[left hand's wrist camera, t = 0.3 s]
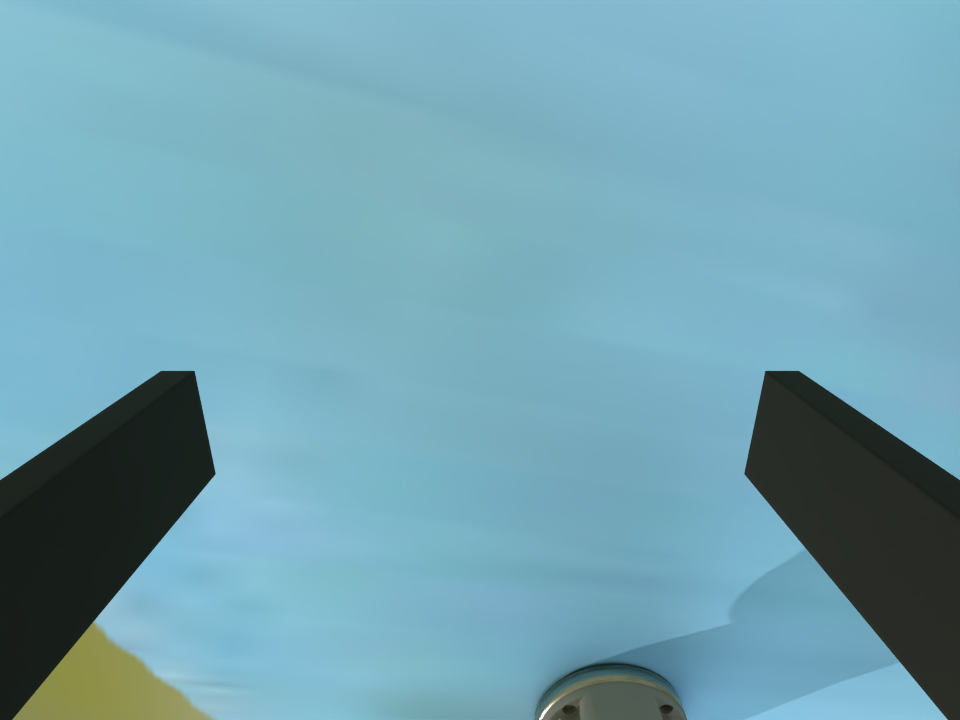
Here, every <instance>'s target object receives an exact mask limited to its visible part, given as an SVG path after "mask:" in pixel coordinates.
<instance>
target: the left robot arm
mask: <svg viewBox="0 0 960 720" xmlns="http://www.w3.org/2000/svg"><path fill="white" fill-rule="evenodd" d="M214 475H215V469H214V464H213V459H212V454H211V449H210V444H209V440H208V435H207V430H206V425H205V420H204V415H203V410H202V405H201V400H200V396H199V391H198V386H197V381H196V376H195V371H160V372H159V373H158V374H156V375H155V376H153V377H152V378H150V379H149V380H147V381H146V382H144V383H143V384H141V385H140V386H138V387H137V388H135V389H134V390H132V391H131V392H130V393H128V394H127V395H125V396H124V397H122V398H121V399H119V400H118V401H116V402H115V403H113V404H112V405H110V406H109V407H107V408H106V409H104V410H103V411H102V412H100V413H99V414H97V415H96V416H94V417H93V418H91V419H90V420H88V421H87V422H85V423H84V424H82V425H81V426H79V427H78V428H76V429H75V430H74V431H72V432H71V433H69V434H68V435H66V436H65V437H63V438H62V439H60V440H59V441H57V442H56V443H54V444H53V445H51V446H50V447H48V448H47V449H46V450H44V451H43V452H41V453H40V454H38V455H37V456H35V457H34V458H32V459H31V460H29V461H28V462H26V463H25V464H23V465H22V466H21V467H19V468H18V469H16V470H15V471H13V472H12V473H10V474H9V475H7V476H6V477H4V478H3V479H1V480H0V720H12V719H13V718H14V717H15V716H16V714H17V713H18V712H19V711H20V710H21V708H22V707H23V706H24V705H25V703H26V702H27V701H28V700H29V699H30V698H31V696H32V695H33V694H34V693H35V691H36V690H37V689H38V688H39V687H40V685H41V684H42V683H43V682H44V681H45V679H46V678H47V677H48V676H49V675H50V673H51V672H52V671H53V670H54V668H55V667H56V666H57V665H58V664H59V662H60V661H61V660H62V659H63V658H64V656H65V655H66V654H67V653H68V652H69V650H70V649H71V648H72V647H73V646H74V644H75V643H76V642H77V641H78V639H79V638H80V637H81V636H82V635H83V634H84V632H85V631H86V630H87V629H88V627H89V626H90V625H91V624H92V623H93V621H94V620H95V619H96V618H97V617H98V615H99V614H100V613H101V612H102V611H103V609H104V608H105V607H106V606H107V605H108V603H109V602H110V601H111V600H112V598H113V597H114V596H115V595H116V594H117V592H118V591H119V590H120V589H121V588H122V586H123V585H124V584H125V583H126V582H127V580H128V579H129V578H130V577H131V576H132V574H133V573H134V572H135V571H136V569H137V568H138V567H139V566H140V565H141V563H142V562H143V561H144V560H145V559H146V557H147V556H148V555H149V554H150V553H151V551H152V550H153V549H154V548H155V547H156V545H157V544H158V543H159V542H160V541H161V539H162V538H163V537H164V536H165V534H166V533H167V532H168V531H169V530H170V528H171V527H172V526H173V525H174V524H175V522H176V521H177V520H178V519H179V518H180V516H181V515H182V514H183V513H184V512H185V510H186V509H187V508H188V507H189V505H190V504H191V503H192V502H193V501H194V499H195V498H196V497H197V496H198V495H199V493H200V492H201V491H202V490H203V489H204V487H205V486H206V485H207V484H208V483H209V481H210V480H211V479H212V478H213V476H214ZM745 475H746V476H747V478H748V479H749V480H750V481H751V483H752V484H753V485H754V486H755V487H756V489H757V490H758V491H759V492H760V493H761V495H762V496H763V497H764V498H765V499H766V501H767V502H768V503H769V504H770V505H771V507H772V508H773V509H774V510H775V512H776V513H777V514H778V515H779V516H780V518H781V519H782V520H783V521H784V522H785V524H786V525H787V526H788V527H789V528H790V530H791V531H792V532H793V533H794V534H795V536H796V537H797V538H798V539H799V541H800V542H801V543H802V544H803V545H804V547H805V548H806V549H807V550H808V551H809V553H810V554H811V555H812V556H813V557H814V559H815V560H816V561H817V562H818V563H819V565H820V566H821V567H822V568H823V569H824V571H825V572H826V573H827V574H828V576H829V577H830V578H831V579H832V580H833V582H834V583H835V584H836V585H837V586H838V588H839V589H840V590H841V591H842V592H843V594H844V595H845V596H846V597H847V598H848V600H849V601H850V602H851V603H852V605H853V606H854V607H855V608H856V609H857V611H858V612H859V613H860V614H861V615H862V617H863V618H864V619H865V620H866V621H867V623H868V624H869V625H870V626H871V627H872V629H873V630H874V631H875V632H876V634H877V635H878V636H879V637H880V638H881V640H882V641H883V642H884V643H885V644H886V646H887V647H888V648H889V649H890V650H891V652H892V653H893V654H894V655H895V656H896V658H897V659H898V660H899V661H900V662H901V664H902V665H903V666H904V667H905V669H906V670H907V671H908V672H909V673H910V675H911V676H912V677H913V678H914V679H915V681H916V682H917V683H918V684H919V685H920V687H921V688H922V689H923V690H924V691H925V693H926V694H927V695H928V696H929V698H930V699H931V700H932V701H933V702H934V704H935V705H936V706H937V707H938V708H939V710H940V711H941V712H942V713H943V714H944V716H945V717H946V718H947V719H948V720H960V480H959V479H957V478H956V477H954V476H953V475H951V474H950V473H948V472H947V471H945V470H944V469H942V468H941V467H939V466H938V465H937V464H935V463H934V462H932V461H931V460H929V459H928V458H926V457H925V456H923V455H922V454H920V453H919V452H917V451H916V450H914V449H913V448H912V447H910V446H909V445H907V444H906V443H904V442H903V441H901V440H900V439H898V438H897V437H895V436H894V435H892V434H891V433H889V432H888V431H886V430H885V429H884V428H882V427H881V426H879V425H878V424H876V423H875V422H873V421H872V420H870V419H869V418H867V417H866V416H864V415H863V414H861V413H860V412H858V411H857V410H856V409H854V408H853V407H851V406H850V405H848V404H847V403H845V402H844V401H842V400H841V399H839V398H838V397H836V396H835V395H833V394H832V393H830V392H829V391H828V390H826V389H825V388H823V387H822V386H820V385H819V384H817V383H816V382H814V381H813V380H811V379H810V378H808V377H807V376H805V375H804V374H802V373H801V372H800V371H765V376H764V381H763V386H762V391H761V396H760V400H759V405H758V410H757V415H756V420H755V425H754V430H753V435H752V439H751V444H750V449H749V454H748V459H747V464H746V469H745ZM535 720H687V719H686V716H685V713H684V710H683V707H682V705H681V702H680V699H679V697H678V695H677V693H676V691H675V690H674V689H673V687H672V686H671V685H670V684H669V683H668V682H667V681H666V680H664V679H663V678H661V677H660V676H658V675H656V674H654V673H652V672H650V671H647V670H645V669H641V668H638V667H633V666H627V665H602V666H596V667H591V668H587V669H583V670H580V671H577V672H575V673H573V674H570V675H568V676H566V677H564V678H563V679H561V680H560V681H558V682H557V683H556V684H554V685H553V686H552V687H551V688H550V689H549V690H548V691H547V692H546V693H545V694H544V696H543V697H542V698H541V700H540V702H539V704H538V706H537V709H536V713H535Z"/></svg>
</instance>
